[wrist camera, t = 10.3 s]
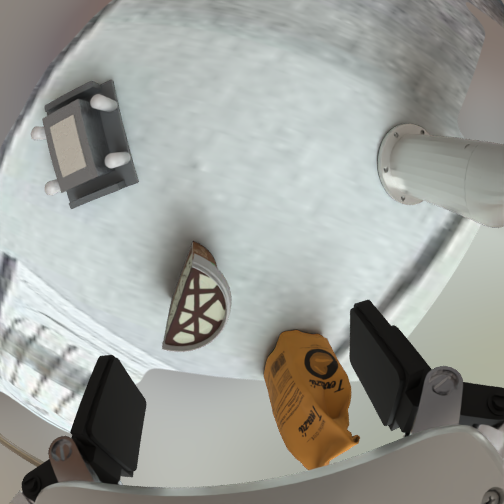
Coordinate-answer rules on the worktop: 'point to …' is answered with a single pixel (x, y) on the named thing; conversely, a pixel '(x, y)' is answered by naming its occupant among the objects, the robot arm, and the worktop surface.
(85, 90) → the grey pegged block
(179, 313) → the food container
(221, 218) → the worktop surface
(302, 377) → the coffee package
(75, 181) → the block
